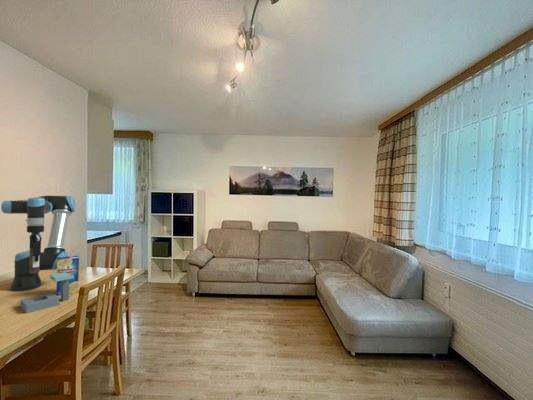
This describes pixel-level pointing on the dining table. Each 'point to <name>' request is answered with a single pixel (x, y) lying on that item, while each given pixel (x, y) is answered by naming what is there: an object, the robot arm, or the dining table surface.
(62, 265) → the beverage box
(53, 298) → the socket block
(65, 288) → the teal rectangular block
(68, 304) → the dining table surface
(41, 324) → the dining table surface
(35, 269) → the walnut peg
